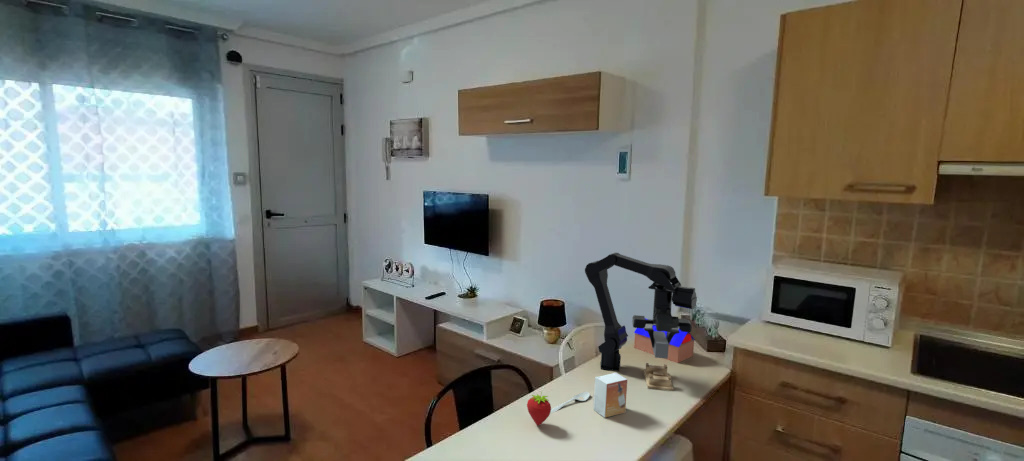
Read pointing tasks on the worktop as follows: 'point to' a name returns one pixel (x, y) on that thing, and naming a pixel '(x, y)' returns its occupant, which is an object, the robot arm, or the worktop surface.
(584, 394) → the spoon
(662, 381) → the display stand
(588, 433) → the worktop surface
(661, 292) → the robot arm
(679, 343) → the house
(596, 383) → the small box
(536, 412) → the strawberry
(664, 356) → the grey rectangular block
